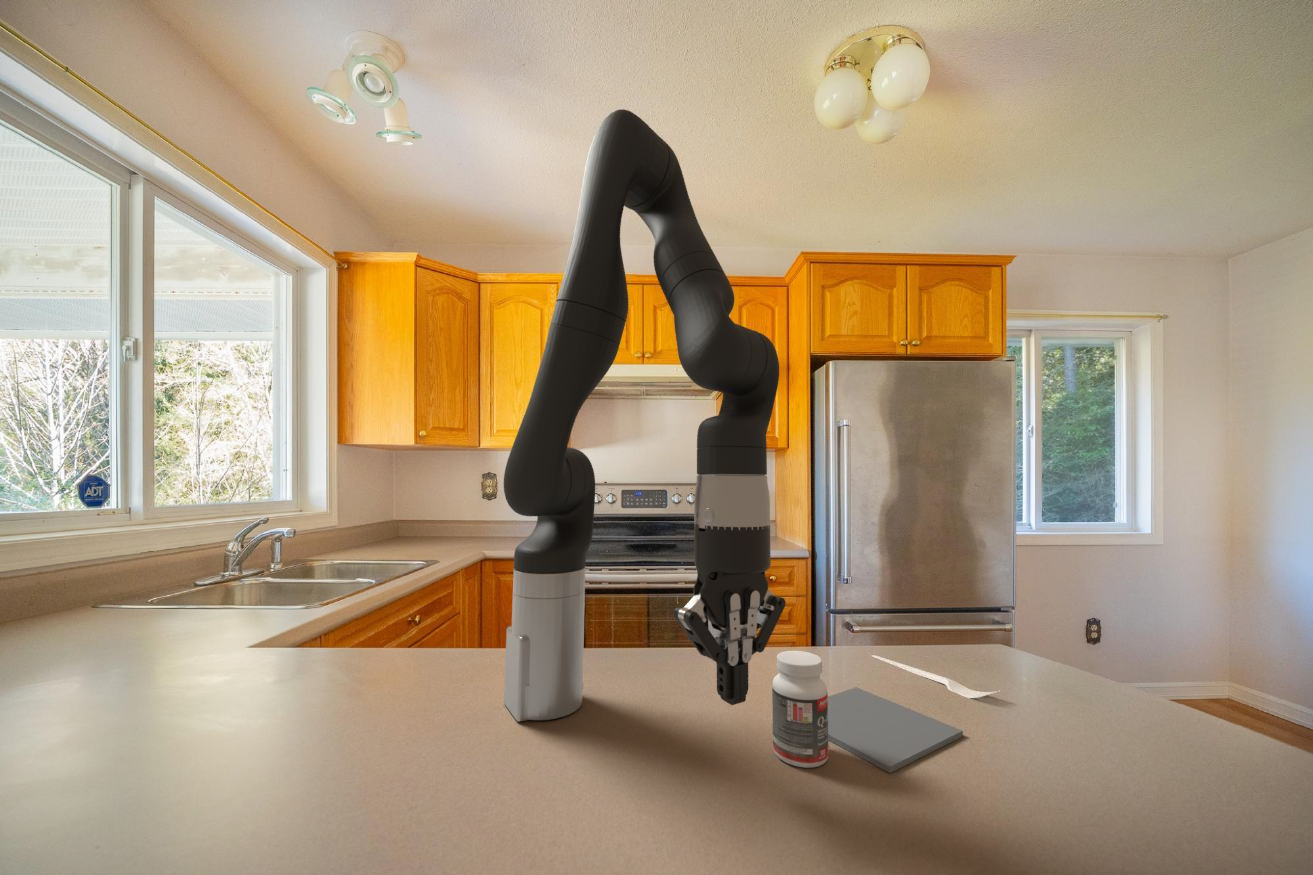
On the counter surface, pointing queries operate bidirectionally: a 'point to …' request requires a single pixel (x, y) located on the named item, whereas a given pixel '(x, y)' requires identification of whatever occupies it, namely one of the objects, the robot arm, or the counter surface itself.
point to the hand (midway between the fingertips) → (732, 700)
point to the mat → (884, 729)
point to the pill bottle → (800, 710)
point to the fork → (940, 680)
